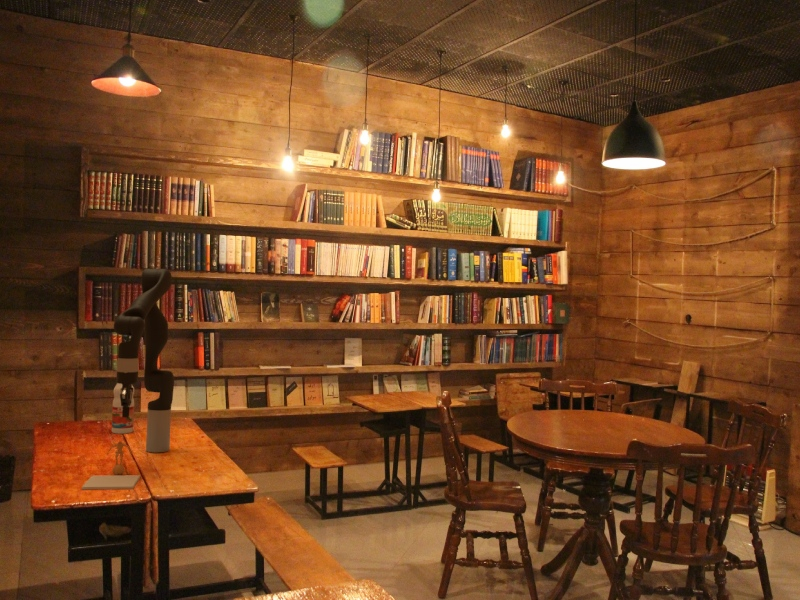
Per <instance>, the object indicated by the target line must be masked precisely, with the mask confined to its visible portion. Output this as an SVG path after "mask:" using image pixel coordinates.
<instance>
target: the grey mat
mask: <svg viewBox="0 0 800 600" xmlns="http://www.w3.org/2000/svg"><path fill="white" fill-rule="evenodd" d="M140 478H141V475H140V474H138V475H137V474H135V475H133V474H132V475H131V474H129V475H125V474H122V475H114V474H113V475H111V474H110V475H91V476H90V477H89V478H88V479H87V481H86V482H84V483H83V485H82V486H81V489H80V490H83V491H84V490H133V489H134V488H135V486H136V485H137V483H139V480H140Z"/></svg>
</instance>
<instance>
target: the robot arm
mask: <svg viewBox="0 0 800 600" xmlns="http://www.w3.org/2000/svg"><path fill="white" fill-rule="evenodd" d="M140 280H141V282H140V283H141V292H142V293H141V294H140V295H138V296H137V297H136V298H135V299H133V301H132V303H131V304H130V306H129V307H128V308H127V309H126V310H124V311H123V312H122V313H120V314H119V315H118V316H117V317H116V318H115V320H114V322H113V330H114V332H115V334H117V335H119V336H131V337H130V339H129V340H126V341H122V342H119V344H118V349H117V362H116V378H115V379H116V380H115V382H116V384H117V383H119V384H122V388H121V389H120V393H121V394H120V400H121V406H122V407H123V411H122V417H129V410H130V407H129V406H130V405H131V401H132V395H133V388H132V385H134V384H138V382H139V365H140V364H139V349H140V343H141V339H142V336H143V334H144V345H145V346H144V349H145V351H144V353H145V356H144V357H145V358H144V359H145V360H144V372H143V373H144V377H143V381H144V388H145V390H146V391H147V392H149V393H159V396H158V398H156V399H154V400H151V401H148V403H147V414H146V415H147V416H146V441H145V443H146V444H145V451H146V452H149V453H153V454H154V453H166V452H169V451H170V447H171V446H170V444H171V443H170V442H171V423H172V422H171V419H172V418H171V415H172V413H171V412H172V405H173V400H174V399H173V397H174V387H175V376H174V374H173V372H172V371H171V370H163V369H158V360H159V356H160V354H161V353H162V351H163V350H164V348H165V346H166V345H167V343H168V340H169V323H168V320H167V318H166V317H165V315H164V313H163V312H162V311H161V308H159V306H158V304H157V303H158V301H160V299H161V298H163V296H164V295H166V293H167V292H168V291H169V290H170V288H171V286H172V282H173V276H172V273H171V271H170V270H169V269H166V268H145V269H143V270H142V273H141V279H140ZM133 396H134V395H133Z"/></svg>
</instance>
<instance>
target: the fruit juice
mask: <svg viewBox="0 0 800 600" xmlns="http://www.w3.org/2000/svg"><path fill="white" fill-rule="evenodd" d="M133 385H134V384H132V388H133V395H132V401H131V405H130V406H129V407H130V410H129V417H122V411H123V407H122V406H121V400H120V394H121V393H120V389H121V388H122V384H119V383H117V382H116V384H115V386H114V388H113V396H114V397H113V400H112V412H111V415H112V416H111V432H112V433H113V434H118V435H121V434H123V435H124V434H131V433H133V432H134V425H135V424H134V423H135V421H134V420H135V398H134V395H135V387H134V386H133Z"/></svg>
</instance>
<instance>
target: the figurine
mask: <svg viewBox="0 0 800 600" xmlns="http://www.w3.org/2000/svg"><path fill="white" fill-rule="evenodd" d="M114 447H116V449H117V450H115V465H114V466H113V467H112V474H113V475H124V472H125V467H124V465H123V462H122V461H123V458H124V453H125V452H124V450H123V448H124V447H126V448H128V451H129V452H130V455H132V454H133V453H132V449H131V448H130V446H129V445H127V444H125V443H123V442H122V441H121V440H119V441H118V442H117V443H115V444H113V445H111V446H110V447H109V449H108V451H107V452H106V455H109V453H110V452H111V450H112V448H114ZM119 456H120V461H119V463H118V460H119V458H118V457H119Z"/></svg>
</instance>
